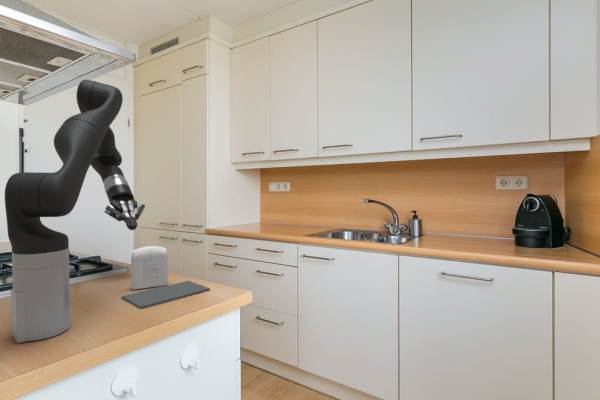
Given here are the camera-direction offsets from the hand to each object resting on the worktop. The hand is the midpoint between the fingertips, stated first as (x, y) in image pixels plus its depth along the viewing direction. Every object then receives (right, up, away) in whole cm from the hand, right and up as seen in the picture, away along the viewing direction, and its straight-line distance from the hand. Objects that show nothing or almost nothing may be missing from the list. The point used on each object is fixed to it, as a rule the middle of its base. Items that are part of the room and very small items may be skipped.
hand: (133, 228), depth 107 cm
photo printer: (+9, -17, -7) cm, 21 cm away
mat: (+17, -17, -14) cm, 28 cm away
